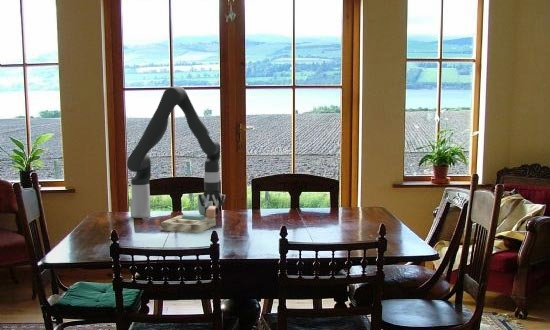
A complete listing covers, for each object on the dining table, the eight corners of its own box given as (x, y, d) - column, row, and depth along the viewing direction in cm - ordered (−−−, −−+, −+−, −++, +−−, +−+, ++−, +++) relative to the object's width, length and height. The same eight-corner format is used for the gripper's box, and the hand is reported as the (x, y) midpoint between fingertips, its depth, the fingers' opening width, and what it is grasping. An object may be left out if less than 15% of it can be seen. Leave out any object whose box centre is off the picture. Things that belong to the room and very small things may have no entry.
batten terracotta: (214, 218, 268) (214, 210, 268) (206, 217, 269) (206, 209, 268) (217, 213, 278) (217, 206, 278) (210, 213, 279) (209, 205, 278)
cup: (214, 213, 295) (213, 195, 294) (211, 216, 287) (210, 197, 286) (200, 213, 296) (199, 194, 295) (196, 216, 288) (196, 197, 287)
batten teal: (204, 223, 265) (204, 215, 265) (200, 224, 261) (199, 216, 261) (186, 221, 269) (186, 213, 269) (182, 223, 266) (182, 215, 265)
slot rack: (161, 229, 257) (161, 222, 256) (180, 222, 273) (179, 215, 272) (198, 232, 250) (198, 225, 249) (215, 225, 266) (215, 217, 265)
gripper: (195, 181, 269) (196, 215, 271) (223, 182, 267) (223, 216, 269) (200, 179, 276) (200, 212, 278) (227, 180, 274) (227, 213, 276)
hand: (212, 214), depth 273 cm, fingers closed on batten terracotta, 4 cm apart
